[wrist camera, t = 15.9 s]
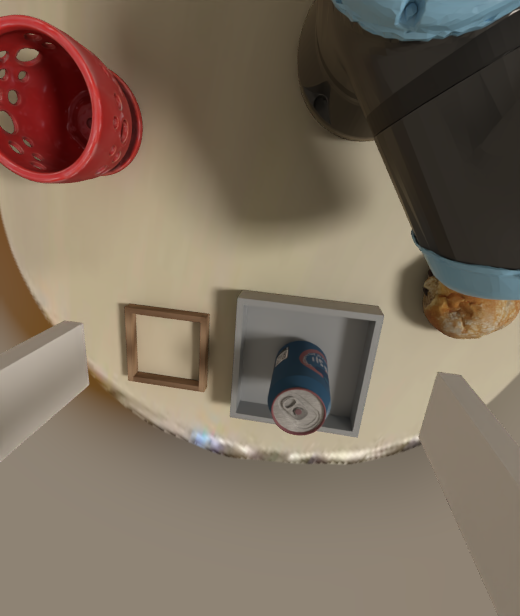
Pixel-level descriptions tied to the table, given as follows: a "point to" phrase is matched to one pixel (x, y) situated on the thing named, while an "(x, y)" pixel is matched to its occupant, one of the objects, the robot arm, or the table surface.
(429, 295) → the bread roll
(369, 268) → the table surface
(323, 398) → the soda can
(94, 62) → the plant pot
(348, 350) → the grey bin
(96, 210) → the table surface
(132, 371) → the walnut frame
